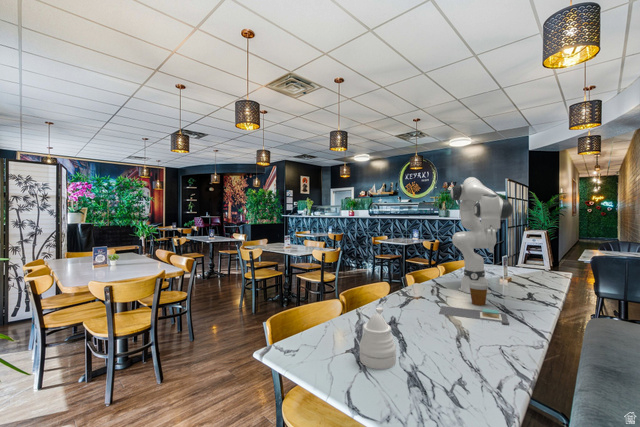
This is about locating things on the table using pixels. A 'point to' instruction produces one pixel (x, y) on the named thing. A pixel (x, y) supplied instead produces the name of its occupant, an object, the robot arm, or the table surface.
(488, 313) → the teal flat block
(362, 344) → the honey pot
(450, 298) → the table surface
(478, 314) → the rubber mat
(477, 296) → the disposable coffee cup
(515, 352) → the table surface
